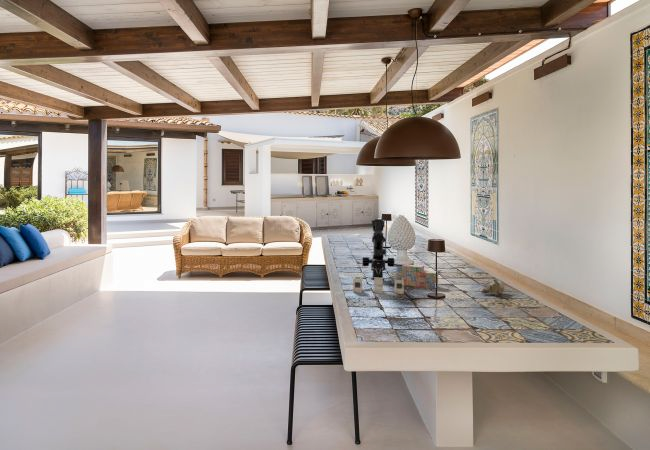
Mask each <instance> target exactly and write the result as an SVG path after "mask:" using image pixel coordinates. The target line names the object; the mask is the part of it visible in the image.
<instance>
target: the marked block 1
mask: <svg viewBox="0 0 650 450" xmlns="http://www.w3.org/2000/svg"><path fill="white" fill-rule="evenodd" d="M352 285H353V286H352V293H360V294H361V293H362V292H363V277H361V276H360V277H358V276H356V277H355V276H354V277H352Z"/></svg>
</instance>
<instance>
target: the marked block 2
mask: <svg viewBox="0 0 650 450" xmlns="http://www.w3.org/2000/svg"><path fill="white" fill-rule="evenodd" d="M404 291H405V285H404V279H403V278H402V277H401V278H400V277H394V294H395V295H396V294H398V295H402V294H404V293H405V292H404Z"/></svg>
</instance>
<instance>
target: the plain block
mask: <svg viewBox="0 0 650 450" xmlns="http://www.w3.org/2000/svg"><path fill="white" fill-rule="evenodd" d="M383 278H384V277H383ZM383 278H374V280H373V294H383V293H384V292H383V290H384V285H383V284H384V283H383V282H384V281H383Z"/></svg>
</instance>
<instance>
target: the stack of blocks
mask: <svg viewBox="0 0 650 450" xmlns="http://www.w3.org/2000/svg"><path fill="white" fill-rule="evenodd" d="M436 272H437V287H436V288H438V287H439V271H434V270H433V271H432V270H425V266H424V265H422V264H421V265H418V264H407V263H406V264H405V263H404V264H403V265H402V266H401V278H403V279H404V286H410V287H418V286H419V288H426V289H427V288H428V289H436V288H435V283H436Z"/></svg>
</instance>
